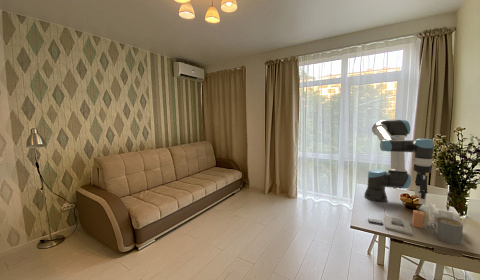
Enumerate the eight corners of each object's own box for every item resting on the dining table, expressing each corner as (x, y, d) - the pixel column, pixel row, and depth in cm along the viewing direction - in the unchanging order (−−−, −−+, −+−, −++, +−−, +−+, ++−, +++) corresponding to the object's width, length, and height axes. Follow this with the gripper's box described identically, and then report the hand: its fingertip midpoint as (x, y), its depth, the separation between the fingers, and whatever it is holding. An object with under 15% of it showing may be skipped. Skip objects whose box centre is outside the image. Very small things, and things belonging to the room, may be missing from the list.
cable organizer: (459, 236, 104) (461, 216, 103) (432, 229, 111) (433, 210, 109) (451, 224, 116) (453, 205, 115) (427, 218, 122) (428, 201, 121)
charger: (412, 222, 118) (413, 209, 117) (421, 224, 116) (422, 211, 115) (413, 226, 115) (414, 212, 114) (423, 228, 112) (424, 214, 111)
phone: (367, 219, 122) (367, 218, 122) (381, 222, 119) (381, 220, 119) (368, 222, 119) (368, 220, 119) (382, 225, 116) (382, 223, 116)
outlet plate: (384, 217, 125) (384, 215, 125) (408, 222, 118) (408, 220, 118) (385, 228, 112) (385, 226, 112) (412, 235, 105) (412, 233, 105)
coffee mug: (457, 236, 104) (459, 219, 103) (464, 246, 96) (466, 228, 95) (423, 229, 111) (425, 212, 110) (427, 237, 103) (429, 220, 102)
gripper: (410, 160, 123) (408, 191, 126) (417, 168, 103) (414, 205, 105) (426, 161, 119) (424, 194, 121) (437, 170, 99) (433, 209, 101)
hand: (419, 199), depth 113 cm, fingers open, 13 cm apart
